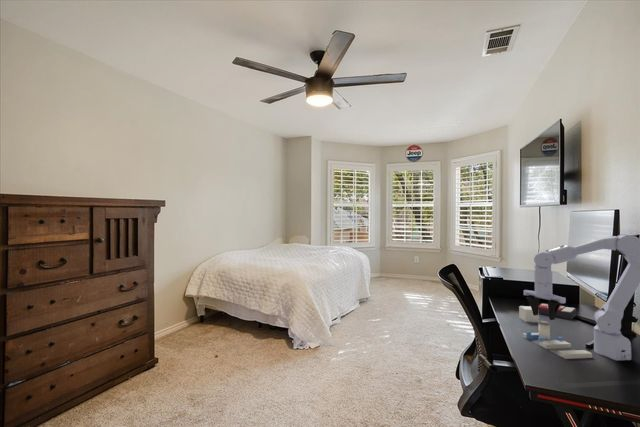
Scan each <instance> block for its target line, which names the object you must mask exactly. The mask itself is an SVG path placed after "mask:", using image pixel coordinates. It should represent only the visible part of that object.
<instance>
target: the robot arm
mask: <svg viewBox="0 0 640 427" xmlns="http://www.w3.org/2000/svg"><path fill="white" fill-rule="evenodd" d="M600 250H609V251H610V250H611V251H618V252H619V253H620V254H622V255H623V257H624V259H625V260H626V261H627V265H626V267H625V269H624V270H623V272H622V274H621V276H620V278H619V279H618V281H617V283H616V285H615V287H614V289H613V290H612V292H611V294H610V295H609V297H608V298H607V300H606V301H605V303H604V304H602V306H601V308H599V309H597V310H596V311H595V312H594V313H593V320H594V321H595V323H596V325H595V326H593V351H594V352H595V353H596V354H598V355H601V356H604V357H607V358H609V359H611V360H614V361H631V360H632V343H631V341H630V339H629V338H627V337H626V336H624V335H623V334H622V331H621V329H622V320H623V318H624V314H625V313H624V311H625V310H626V307H627V306H628V305H629V302H630V301H631V299H632V298H633V296H634V294H635V292H636V291H637V289H638V287H639V286H640V238H639V237H637V236H635V235H629V234H624V233H623V234H622V233H621V234H618V235H617V236H616V235H613V236H607V237H602V238H598V239H595V240H592V241H589V242H586V243H582V244H579V245H576V246H571V245H568V244H566V245H564V244H560V245H559V247H555V248H553V249H552V248H551V249H548V248H547V249H545V250H544V251H539V252H538V253H537V252H536V254H535V255H534V258H533V260H534V264H535V265H534V273H533V274H534V290H529V289H524V290H523V296H526V301H527V302H528V304H529V306H531V308H532V312H533V315H535V316H536V315H538V313H539V305H540V299H542V300H547V302H546V304H548V307H549V315H548V318H549V321H553V320H554V321H555V320H556V313H557V311H558V309H559V307H560V306H562V304H566V302H567V299H566V297H564V296H563V297H562V296H559V295H556V294H553V271H552V265H558V264H561V263H566V262H570V261H573V260H576V258H577V256H579V255H582V254H587V253H591V252H595V251H600Z"/></svg>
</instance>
